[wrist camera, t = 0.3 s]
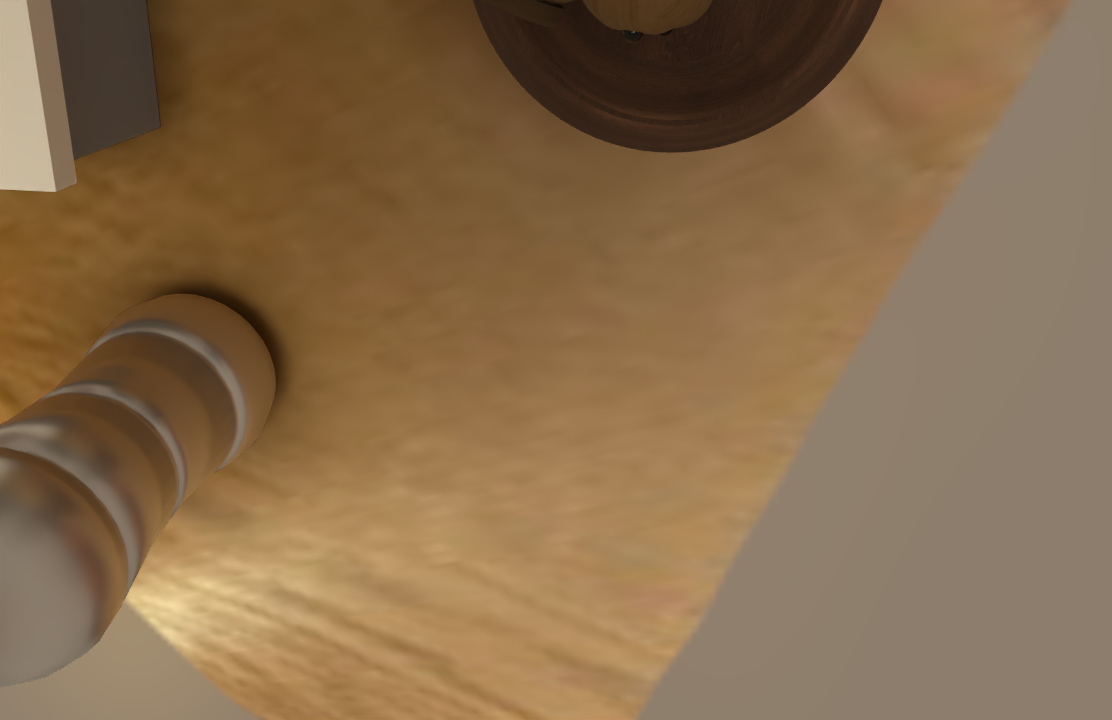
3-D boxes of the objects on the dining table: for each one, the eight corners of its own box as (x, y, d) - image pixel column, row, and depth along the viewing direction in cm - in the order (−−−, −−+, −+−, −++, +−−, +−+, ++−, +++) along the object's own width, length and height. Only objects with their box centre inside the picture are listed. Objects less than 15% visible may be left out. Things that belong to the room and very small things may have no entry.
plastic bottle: (207, 244, 39) (-189, 515, 21) (327, 378, 41) (59, 739, 22) (95, 339, 41) (-359, 665, 23) (214, 462, 43) (-118, 861, 24)
